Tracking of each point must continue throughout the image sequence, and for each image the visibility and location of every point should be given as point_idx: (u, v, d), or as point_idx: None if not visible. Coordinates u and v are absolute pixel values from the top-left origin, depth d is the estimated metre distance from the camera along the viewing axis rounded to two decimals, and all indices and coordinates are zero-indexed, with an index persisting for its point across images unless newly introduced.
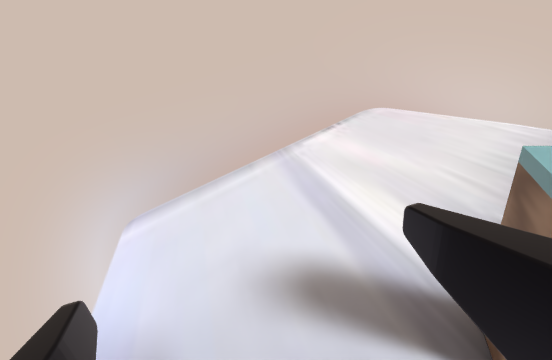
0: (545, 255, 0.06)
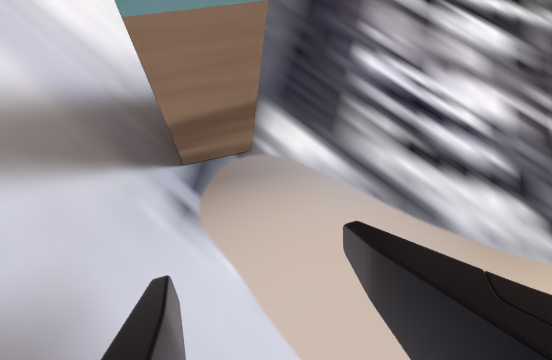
0: (459, 286, 0.06)
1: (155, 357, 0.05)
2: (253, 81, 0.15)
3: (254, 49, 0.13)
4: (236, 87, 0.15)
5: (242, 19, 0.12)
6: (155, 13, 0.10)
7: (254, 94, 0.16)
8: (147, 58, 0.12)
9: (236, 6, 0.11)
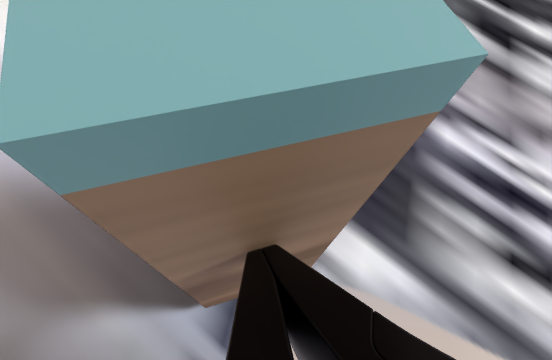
0: (338, 330, 0.05)
1: (283, 314, 0.06)
2: (339, 223, 0.08)
3: (363, 189, 0.06)
4: (309, 235, 0.09)
5: (365, 152, 0.05)
6: (160, 174, 0.04)
7: (333, 235, 0.10)
8: (142, 241, 0.05)
9: (364, 132, 0.04)
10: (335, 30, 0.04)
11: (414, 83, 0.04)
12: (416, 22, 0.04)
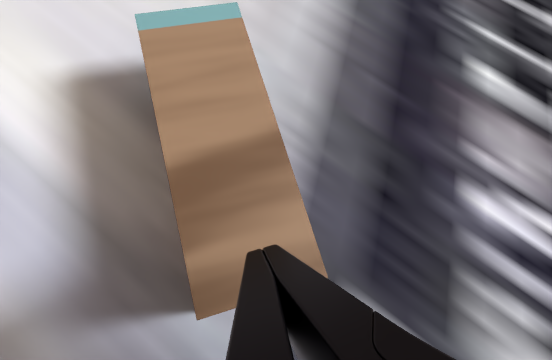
0: (339, 330, 0.05)
1: (283, 314, 0.06)
2: (261, 95, 0.14)
3: (247, 56, 0.15)
4: (244, 103, 0.14)
5: (227, 31, 0.15)
6: (161, 27, 0.15)
7: (271, 116, 0.14)
8: (151, 64, 0.14)
9: (219, 22, 0.15)
10: None
11: (222, 8, 0.16)
12: None
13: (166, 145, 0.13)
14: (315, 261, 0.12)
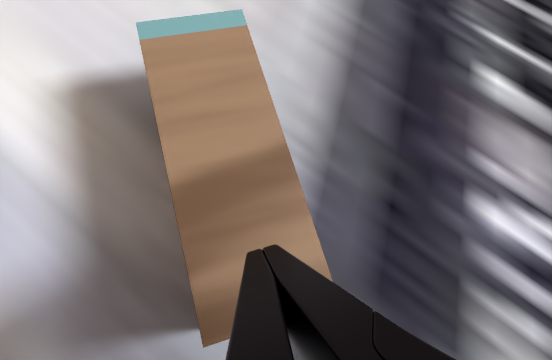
0: (339, 330, 0.05)
1: None
2: (268, 107, 0.14)
3: (252, 66, 0.14)
4: (250, 116, 0.13)
5: (231, 40, 0.15)
6: (163, 36, 0.14)
7: (278, 129, 0.13)
8: (153, 75, 0.13)
9: (223, 30, 0.15)
10: None
11: (226, 15, 0.15)
12: None
13: (169, 161, 0.12)
14: None
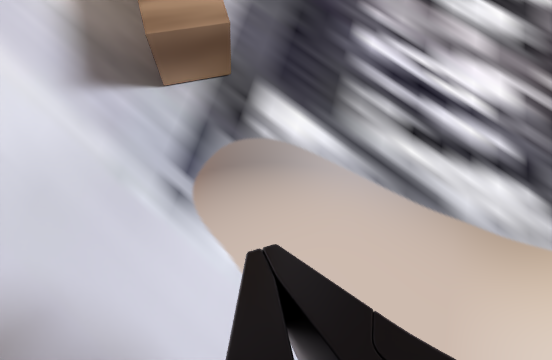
0: (339, 330, 0.05)
1: (283, 314, 0.06)
2: None
3: None
4: None
5: None
6: None
7: None
8: None
9: None
10: None
11: None
12: None
13: None
14: (222, 13, 0.19)
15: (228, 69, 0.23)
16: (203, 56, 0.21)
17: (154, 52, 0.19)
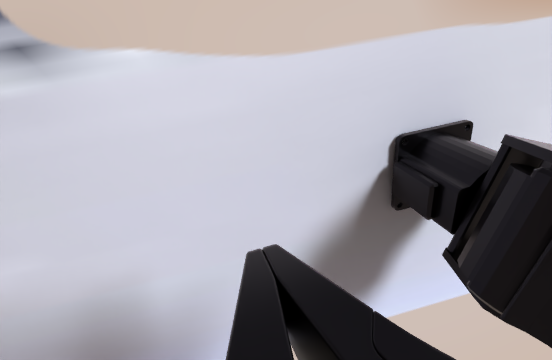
0: (339, 330, 0.05)
1: None
2: None
3: None
4: None
5: None
6: None
7: None
8: None
9: None
10: None
11: None
12: None
13: None
14: None
15: None
16: None
17: None
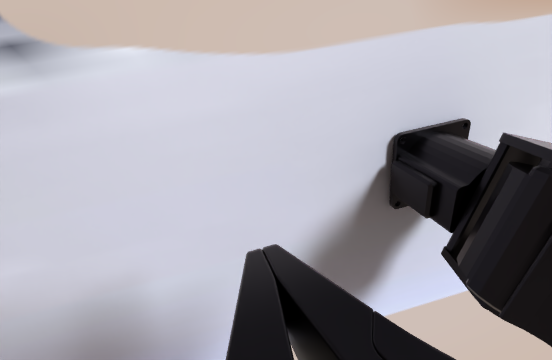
0: (338, 330, 0.05)
1: (283, 314, 0.06)
2: None
3: None
4: None
5: None
6: None
7: None
8: None
9: None
10: None
11: None
12: None
13: None
14: None
15: None
16: None
17: None
